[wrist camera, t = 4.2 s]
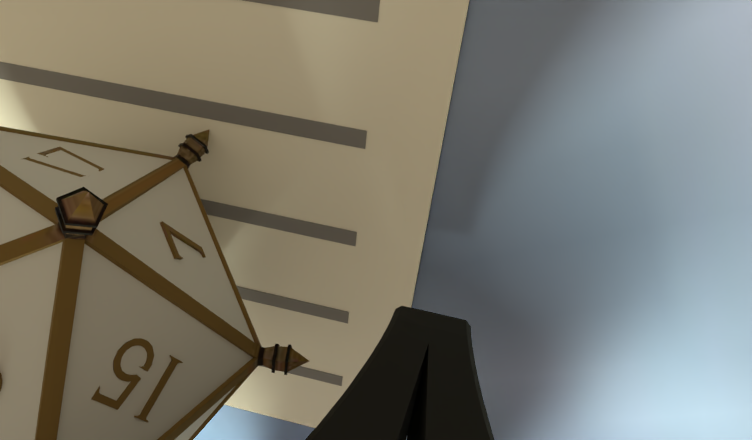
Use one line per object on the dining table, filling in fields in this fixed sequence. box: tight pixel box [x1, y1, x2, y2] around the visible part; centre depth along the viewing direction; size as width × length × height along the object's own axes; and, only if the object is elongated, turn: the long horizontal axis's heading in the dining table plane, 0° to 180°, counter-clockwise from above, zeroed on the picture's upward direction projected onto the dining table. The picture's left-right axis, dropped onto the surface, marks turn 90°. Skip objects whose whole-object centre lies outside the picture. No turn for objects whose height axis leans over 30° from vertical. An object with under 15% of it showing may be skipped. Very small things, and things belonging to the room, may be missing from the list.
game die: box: [0, 126, 309, 440], centre depth 10 cm, size 9×8×10 cm
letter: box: [0, 0, 469, 428], centre depth 12 cm, size 18×13×1 cm
